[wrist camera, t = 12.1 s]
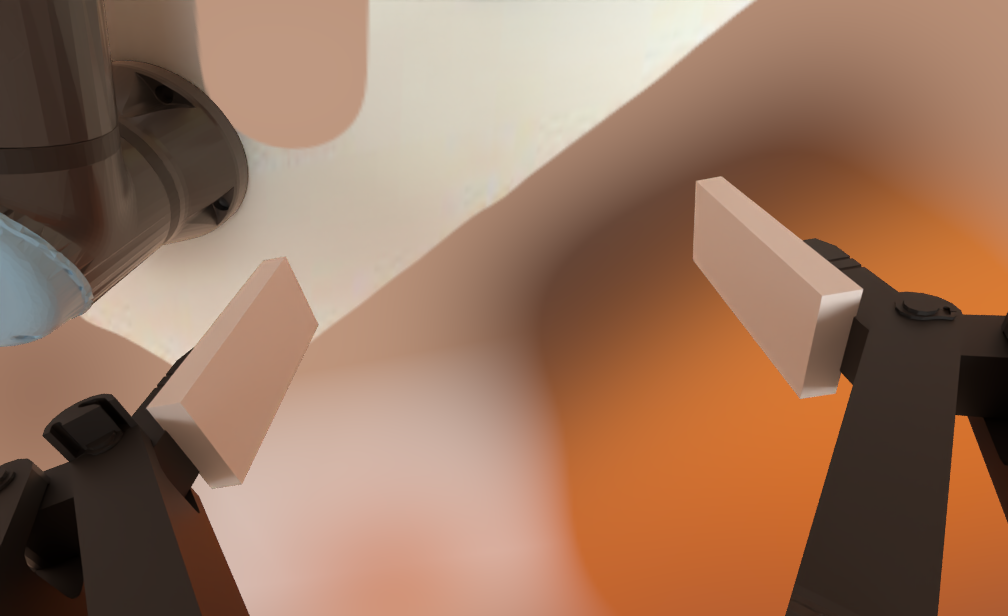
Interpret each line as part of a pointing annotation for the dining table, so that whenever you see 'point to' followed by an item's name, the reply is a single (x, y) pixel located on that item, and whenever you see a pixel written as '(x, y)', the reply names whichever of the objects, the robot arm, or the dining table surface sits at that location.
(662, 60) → the dining table surface
